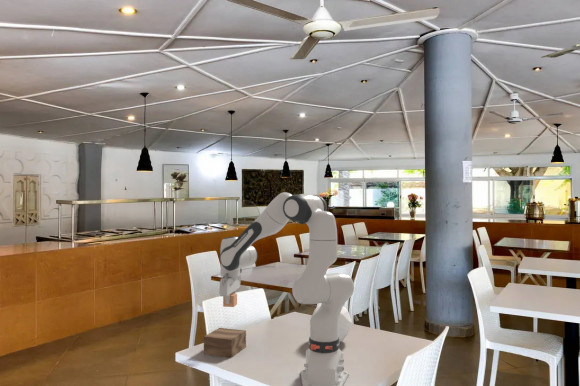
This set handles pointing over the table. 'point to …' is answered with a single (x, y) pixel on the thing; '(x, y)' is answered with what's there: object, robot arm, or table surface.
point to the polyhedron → (342, 323)
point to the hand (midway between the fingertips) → (230, 301)
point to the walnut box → (224, 342)
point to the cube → (231, 300)
